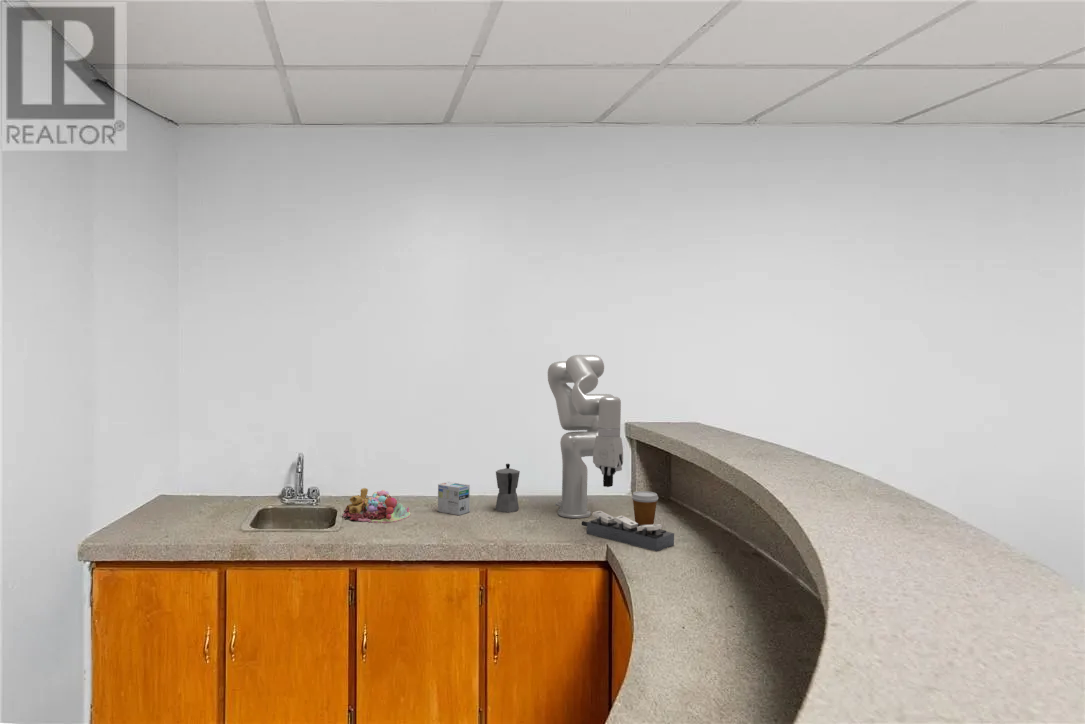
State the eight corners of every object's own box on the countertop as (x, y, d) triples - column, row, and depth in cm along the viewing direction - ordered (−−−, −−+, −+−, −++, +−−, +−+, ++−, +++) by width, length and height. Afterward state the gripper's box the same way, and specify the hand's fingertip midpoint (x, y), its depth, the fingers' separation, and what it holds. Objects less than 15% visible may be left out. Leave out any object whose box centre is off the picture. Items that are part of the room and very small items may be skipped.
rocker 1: (591, 515, 260) (592, 512, 260) (599, 513, 263) (600, 510, 263) (607, 523, 256) (608, 520, 255) (615, 521, 259) (616, 517, 259)
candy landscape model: (333, 521, 272) (333, 496, 271) (356, 506, 295) (357, 483, 295) (400, 525, 269) (400, 499, 268) (419, 509, 292) (419, 486, 292)
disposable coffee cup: (656, 531, 265) (657, 497, 265) (629, 529, 267) (630, 495, 267) (658, 524, 275) (659, 491, 274) (632, 522, 277) (632, 490, 276)
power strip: (573, 530, 265) (573, 513, 265) (591, 525, 272) (592, 508, 272) (656, 551, 241) (656, 532, 241) (673, 545, 248) (674, 527, 248)
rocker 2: (613, 520, 254) (614, 517, 253) (621, 518, 257) (622, 515, 257) (629, 529, 249) (630, 525, 249) (637, 526, 252) (638, 523, 252)
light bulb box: (470, 512, 288) (470, 484, 288) (458, 515, 282) (459, 487, 282) (448, 508, 294) (448, 480, 293) (437, 511, 288) (437, 483, 288)
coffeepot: (493, 505, 299) (494, 460, 298) (517, 505, 301) (517, 460, 300) (497, 515, 284) (498, 467, 283) (522, 514, 285) (523, 467, 285)
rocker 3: (637, 530, 247) (636, 526, 247) (644, 528, 250) (644, 524, 250) (654, 530, 242) (653, 526, 242) (662, 527, 246) (661, 524, 246)
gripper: (585, 431, 259) (584, 484, 260) (619, 436, 249) (618, 491, 250) (599, 429, 265) (597, 481, 266) (633, 434, 255) (632, 488, 255)
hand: (607, 486), depth 258 cm, fingers closed
